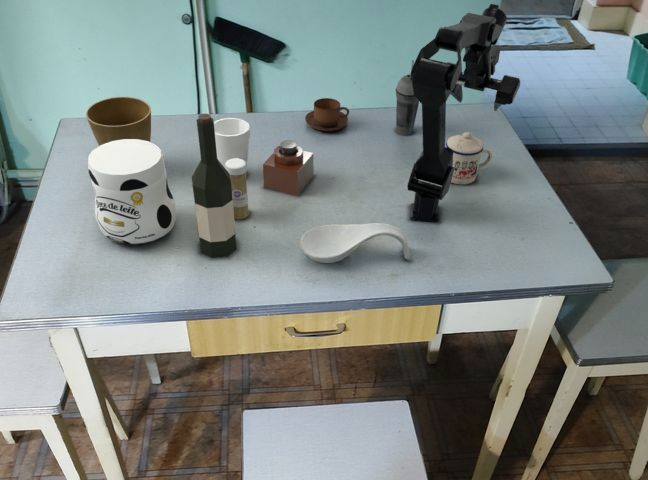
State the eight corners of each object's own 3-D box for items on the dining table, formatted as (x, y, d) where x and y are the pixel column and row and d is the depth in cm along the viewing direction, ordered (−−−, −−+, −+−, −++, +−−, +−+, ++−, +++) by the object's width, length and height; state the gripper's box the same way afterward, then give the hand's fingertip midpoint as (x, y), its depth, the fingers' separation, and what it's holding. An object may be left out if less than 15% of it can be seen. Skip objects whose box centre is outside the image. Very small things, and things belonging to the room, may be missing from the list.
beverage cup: (417, 125, 190) (426, 54, 176) (417, 138, 185) (427, 65, 170) (391, 124, 190) (399, 52, 176) (391, 136, 185) (398, 63, 171)
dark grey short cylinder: (299, 150, 162) (299, 142, 160) (292, 158, 159) (292, 149, 158) (284, 147, 163) (284, 138, 161) (277, 154, 160) (277, 146, 159)
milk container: (101, 257, 143) (82, 182, 131) (98, 213, 155) (80, 141, 142) (183, 245, 147) (172, 172, 134) (174, 203, 159) (163, 132, 146)
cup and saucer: (338, 112, 194) (339, 92, 190) (354, 131, 186) (355, 110, 182) (299, 118, 191) (299, 97, 187) (314, 137, 183) (314, 116, 179)
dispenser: (313, 176, 169) (313, 145, 163) (297, 196, 162) (297, 164, 156) (280, 169, 171) (280, 138, 165) (263, 188, 164) (262, 156, 158)
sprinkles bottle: (231, 221, 154) (227, 169, 144) (227, 210, 157) (223, 158, 147) (251, 218, 155) (248, 166, 145) (246, 208, 158) (243, 156, 148)
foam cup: (209, 182, 166) (204, 133, 157) (222, 164, 172) (217, 115, 163) (245, 187, 164) (242, 138, 155) (257, 169, 171) (254, 120, 162)
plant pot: (89, 169, 169) (74, 108, 158) (141, 150, 176) (130, 91, 165) (119, 193, 161) (105, 131, 150) (172, 173, 168) (162, 112, 157)
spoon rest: (301, 272, 141) (301, 244, 136) (299, 239, 150) (299, 212, 144) (412, 270, 142) (416, 243, 137) (404, 238, 151) (408, 211, 146)
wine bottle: (231, 260, 143) (219, 129, 122) (193, 255, 144) (175, 123, 123) (242, 238, 149) (232, 109, 128) (206, 233, 150) (190, 104, 129)
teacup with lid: (445, 186, 167) (453, 143, 159) (437, 167, 173) (444, 125, 165) (492, 184, 168) (502, 141, 160) (482, 166, 174) (491, 123, 166)
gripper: (530, 41, 151) (526, 87, 166) (453, 25, 157) (455, 71, 172) (512, 81, 149) (510, 124, 163) (434, 63, 155) (438, 106, 169)
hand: (478, 105), depth 167 cm, fingers open, 9 cm apart
